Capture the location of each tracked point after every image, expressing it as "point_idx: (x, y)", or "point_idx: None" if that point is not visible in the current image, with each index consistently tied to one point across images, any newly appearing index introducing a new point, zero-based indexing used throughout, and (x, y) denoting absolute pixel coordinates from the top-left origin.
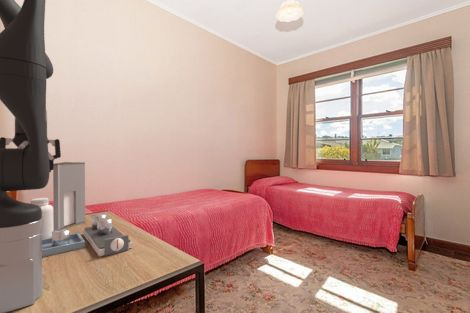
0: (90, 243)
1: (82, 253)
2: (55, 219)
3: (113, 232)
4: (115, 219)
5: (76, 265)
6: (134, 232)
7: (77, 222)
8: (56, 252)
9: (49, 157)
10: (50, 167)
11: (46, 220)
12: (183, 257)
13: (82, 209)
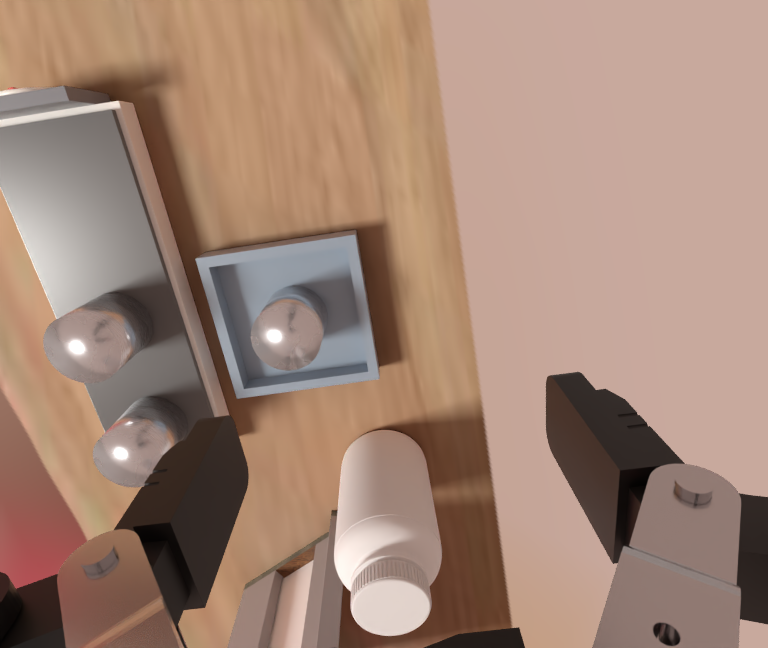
0: (186, 283)
1: (206, 187)
2: None
3: None
4: None
5: (211, 52)
6: (11, 346)
7: (270, 575)
8: (302, 238)
9: (122, 562)
10: (184, 445)
11: (358, 486)
12: None
13: (238, 638)
